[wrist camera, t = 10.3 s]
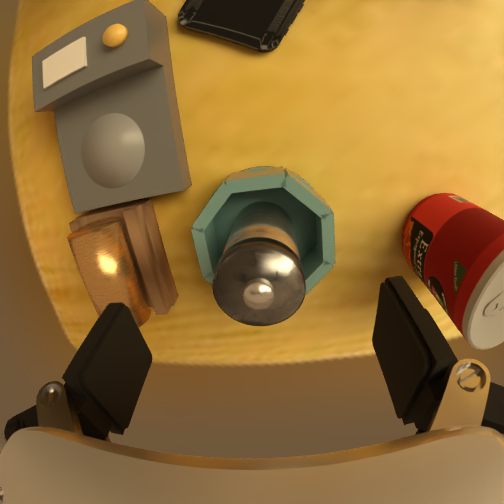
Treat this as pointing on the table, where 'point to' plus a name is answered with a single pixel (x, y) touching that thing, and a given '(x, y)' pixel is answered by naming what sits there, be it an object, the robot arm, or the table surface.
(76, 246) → the copper cell
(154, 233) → the walnut trough
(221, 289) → the grey cell
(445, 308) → the canned food
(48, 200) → the table surface
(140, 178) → the checker
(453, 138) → the table surface
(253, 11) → the phone
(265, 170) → the teal cup
